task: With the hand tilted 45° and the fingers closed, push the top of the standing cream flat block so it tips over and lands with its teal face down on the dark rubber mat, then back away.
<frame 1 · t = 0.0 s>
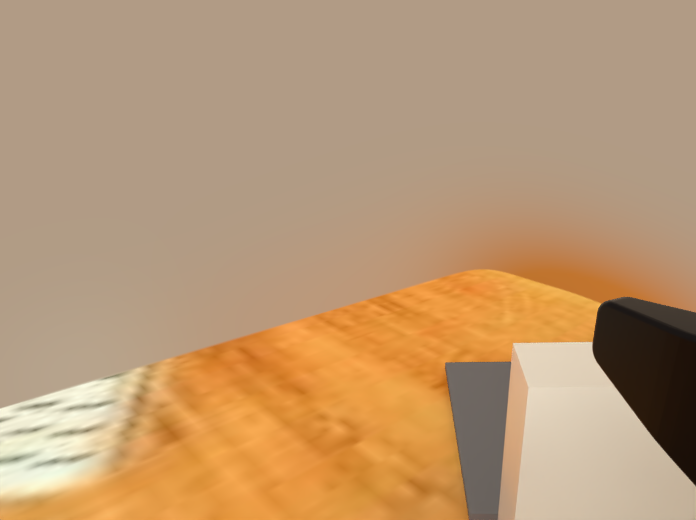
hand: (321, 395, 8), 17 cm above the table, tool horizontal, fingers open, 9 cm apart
mat: (552, 431, 30), on the table
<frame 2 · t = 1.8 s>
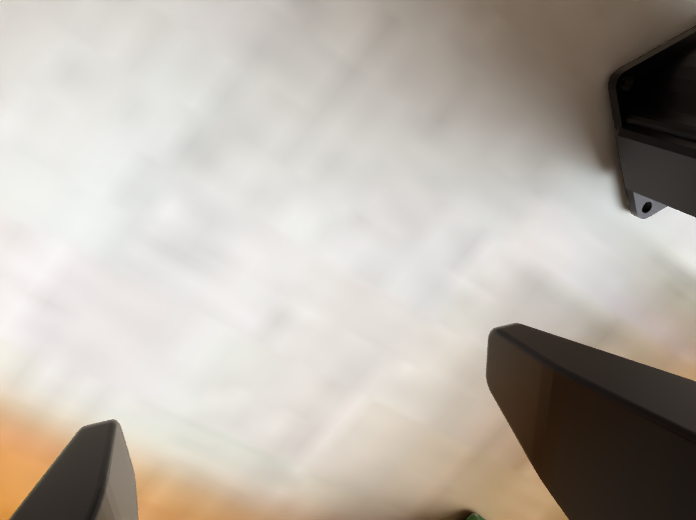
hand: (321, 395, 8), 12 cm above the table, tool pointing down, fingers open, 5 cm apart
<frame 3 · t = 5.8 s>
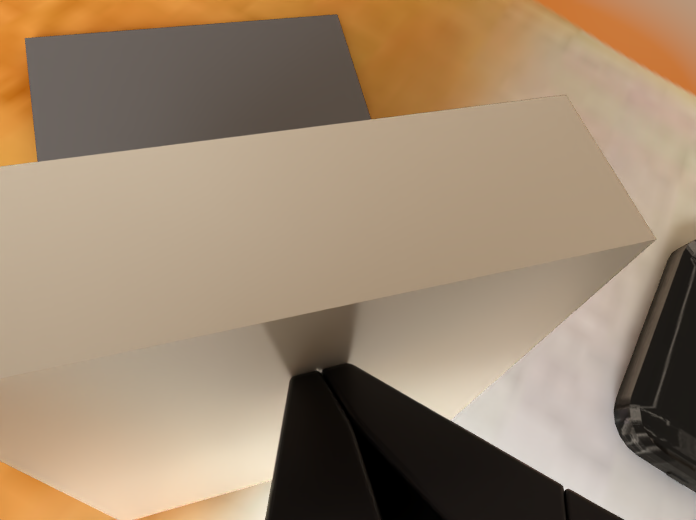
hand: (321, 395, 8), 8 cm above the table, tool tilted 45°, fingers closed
mat: (223, 177, 17), on the table
cream flat block: (279, 428, 15), on the table, tilted 9°
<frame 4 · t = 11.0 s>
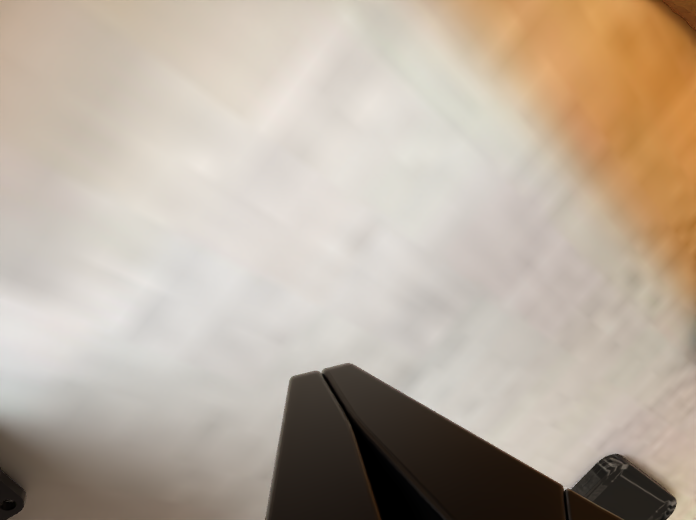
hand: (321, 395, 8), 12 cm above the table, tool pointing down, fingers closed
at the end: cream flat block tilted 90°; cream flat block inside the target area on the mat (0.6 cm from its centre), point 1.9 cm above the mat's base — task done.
